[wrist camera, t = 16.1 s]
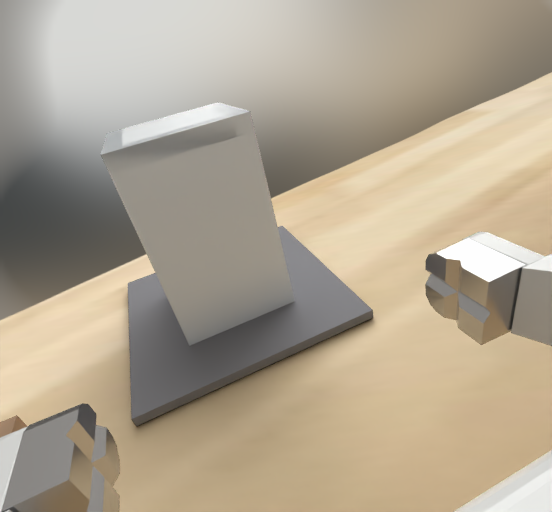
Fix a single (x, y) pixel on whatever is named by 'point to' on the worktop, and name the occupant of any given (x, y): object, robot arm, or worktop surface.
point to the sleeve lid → (203, 215)
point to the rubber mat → (230, 335)
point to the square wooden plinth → (11, 426)
